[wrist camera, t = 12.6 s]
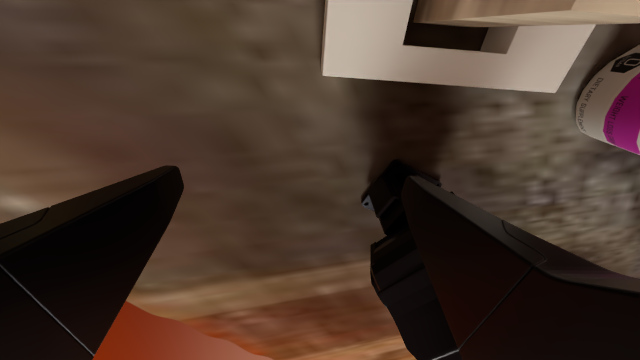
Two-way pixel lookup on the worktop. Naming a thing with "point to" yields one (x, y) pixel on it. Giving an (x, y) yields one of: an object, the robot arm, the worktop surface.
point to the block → (526, 12)
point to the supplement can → (613, 103)
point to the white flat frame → (444, 50)
